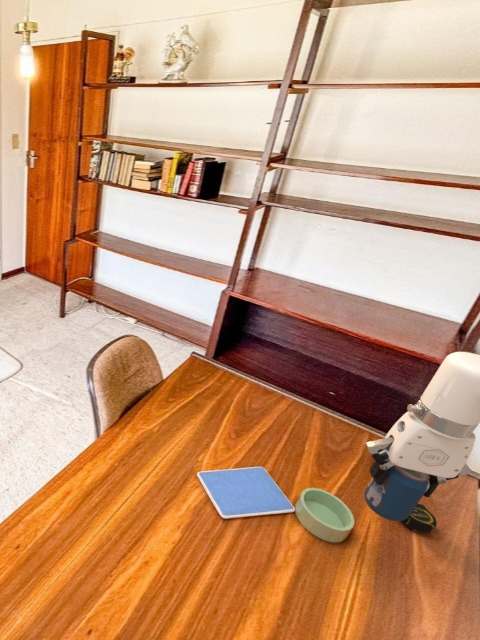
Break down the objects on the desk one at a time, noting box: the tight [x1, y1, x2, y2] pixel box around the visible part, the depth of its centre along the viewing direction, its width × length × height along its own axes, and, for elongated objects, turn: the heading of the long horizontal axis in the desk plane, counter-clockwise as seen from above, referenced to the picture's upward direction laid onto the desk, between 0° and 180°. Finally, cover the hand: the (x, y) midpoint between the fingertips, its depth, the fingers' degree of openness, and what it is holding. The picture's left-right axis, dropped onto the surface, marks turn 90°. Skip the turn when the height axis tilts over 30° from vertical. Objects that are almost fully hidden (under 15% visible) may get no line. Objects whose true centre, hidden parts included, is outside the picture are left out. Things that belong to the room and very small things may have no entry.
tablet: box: [196, 466, 295, 520], centre depth 99 cm, size 19×13×1 cm, turn 97°
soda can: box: [363, 458, 430, 522], centre depth 78 cm, size 7×7×12 cm
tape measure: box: [401, 503, 438, 534], centre depth 94 cm, size 7×7×4 cm
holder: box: [294, 487, 355, 544], centre depth 93 cm, size 10×10×4 cm
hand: (398, 484), depth 77 cm, fingers closed on soda can, 7 cm apart
